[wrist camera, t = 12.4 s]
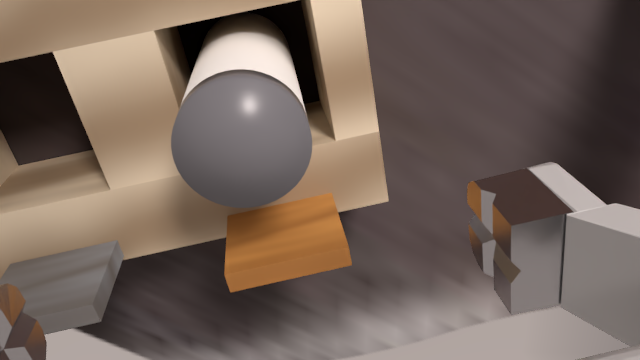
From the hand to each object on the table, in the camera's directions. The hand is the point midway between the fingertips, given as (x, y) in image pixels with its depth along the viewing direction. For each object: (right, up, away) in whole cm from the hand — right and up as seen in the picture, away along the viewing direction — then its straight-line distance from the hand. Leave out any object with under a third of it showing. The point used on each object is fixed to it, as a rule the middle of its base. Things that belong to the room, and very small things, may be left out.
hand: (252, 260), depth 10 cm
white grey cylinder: (-2, +7, +14) cm, 16 cm away
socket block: (-6, +6, +14) cm, 17 cm away
